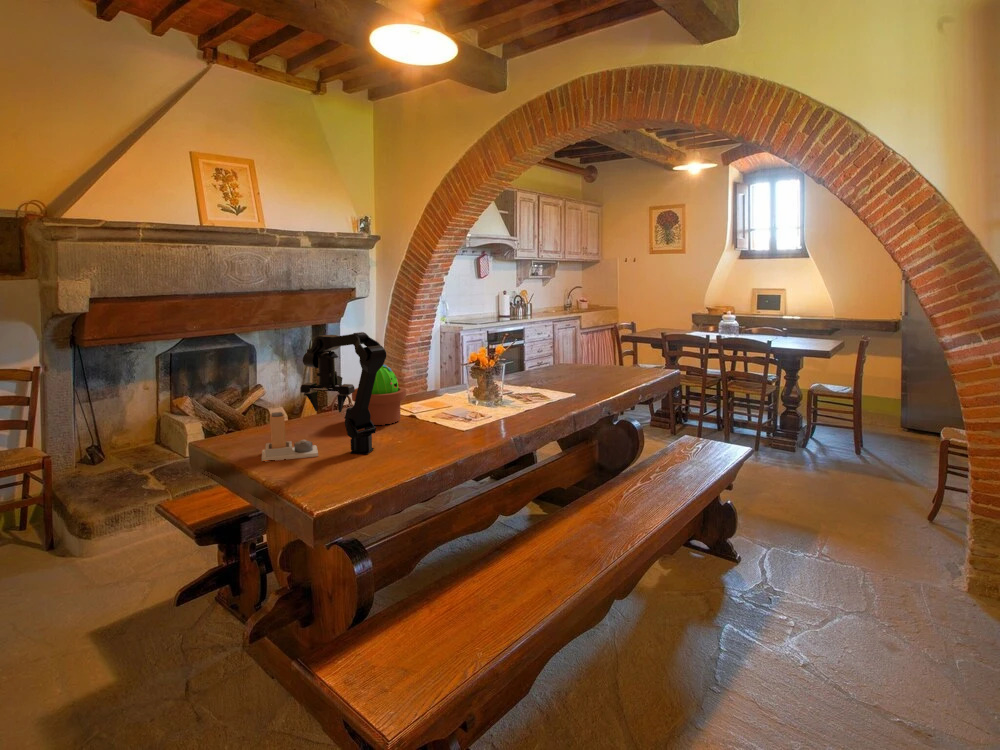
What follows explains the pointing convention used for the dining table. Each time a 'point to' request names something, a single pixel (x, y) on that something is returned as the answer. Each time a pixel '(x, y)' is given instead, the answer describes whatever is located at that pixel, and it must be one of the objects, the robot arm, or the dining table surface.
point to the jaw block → (277, 430)
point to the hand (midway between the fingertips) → (328, 411)
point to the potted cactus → (385, 397)
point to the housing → (290, 451)
